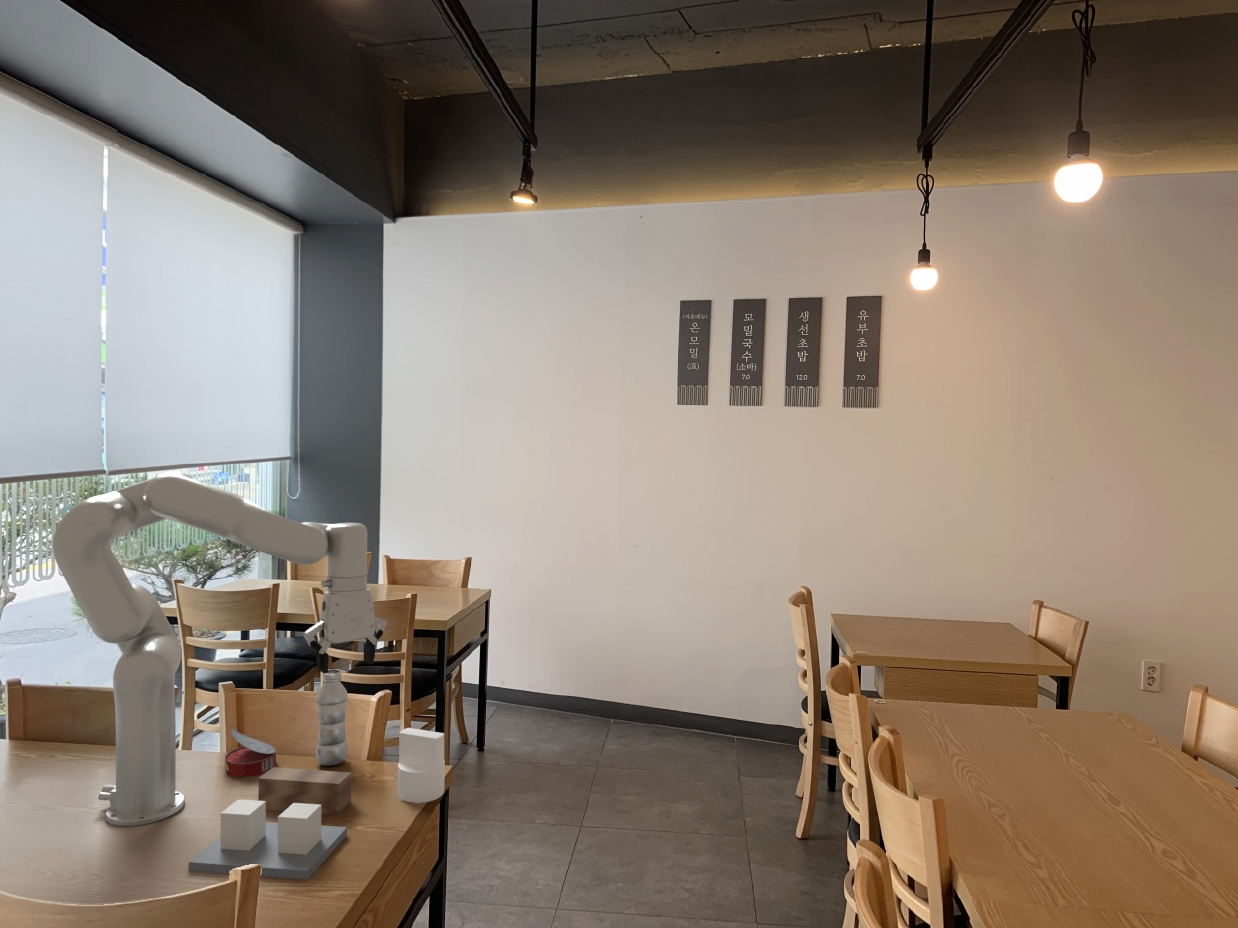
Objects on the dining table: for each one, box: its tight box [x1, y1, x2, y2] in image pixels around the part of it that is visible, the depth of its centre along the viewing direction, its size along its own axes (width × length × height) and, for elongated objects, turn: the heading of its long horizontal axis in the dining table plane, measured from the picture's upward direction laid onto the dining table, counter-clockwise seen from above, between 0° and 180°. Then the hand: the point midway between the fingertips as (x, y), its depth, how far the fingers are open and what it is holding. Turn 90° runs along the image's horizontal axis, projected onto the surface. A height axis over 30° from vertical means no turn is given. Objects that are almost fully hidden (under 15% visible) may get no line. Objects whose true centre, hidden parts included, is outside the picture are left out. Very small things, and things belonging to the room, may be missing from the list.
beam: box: [257, 766, 352, 815], centre depth 147 cm, size 16×5×6 cm, turn 83°
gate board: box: [188, 799, 348, 881], centre depth 129 cm, size 20×14×8 cm
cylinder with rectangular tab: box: [397, 727, 446, 804], centre depth 153 cm, size 9×9×12 cm
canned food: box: [224, 728, 277, 778], centre depth 164 cm, size 11×10×10 cm
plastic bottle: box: [315, 668, 349, 767], centre depth 166 cm, size 6×7×20 cm
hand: (346, 667), depth 156 cm, fingers open, 9 cm apart
